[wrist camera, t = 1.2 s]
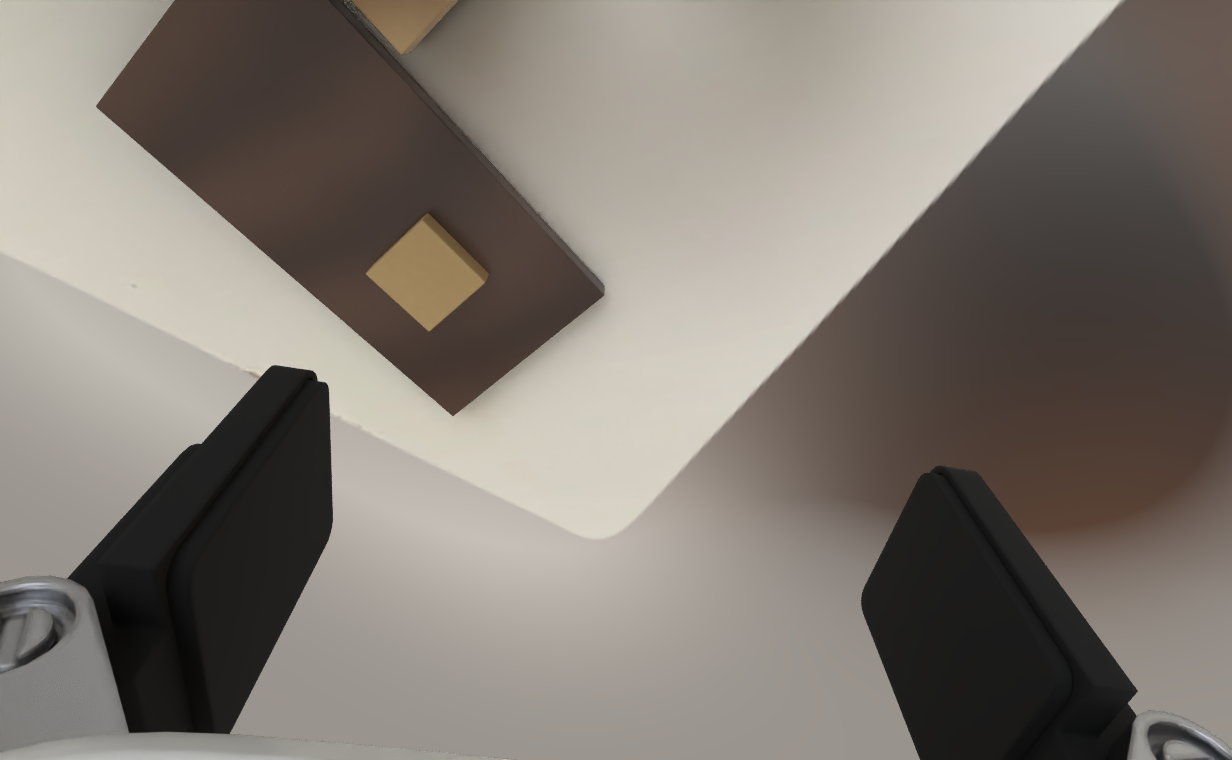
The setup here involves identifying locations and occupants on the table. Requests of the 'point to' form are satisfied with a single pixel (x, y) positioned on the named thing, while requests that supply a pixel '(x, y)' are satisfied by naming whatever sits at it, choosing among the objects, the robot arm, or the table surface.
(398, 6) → the wooden rubber stamp
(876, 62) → the table surface
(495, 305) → the board
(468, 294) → the tan rectangular block
